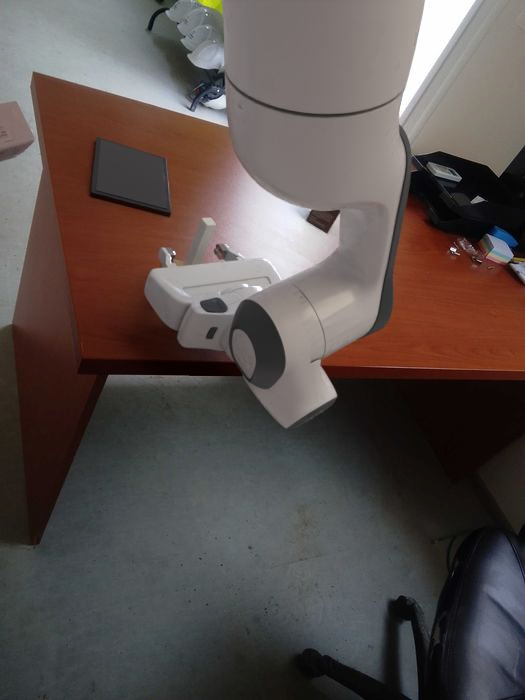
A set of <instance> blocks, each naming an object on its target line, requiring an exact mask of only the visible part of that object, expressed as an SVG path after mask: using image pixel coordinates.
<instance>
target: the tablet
mask: <svg viewBox="0 0 525 700" xmlns="http://www.w3.org/2000/svg"><path fill="white" fill-rule="evenodd" d="M92 164H93V166H92V174H91V175H92V177H91V183H90V184H91V186H90V195H89V196H90V197H91V198H94V199H98V200H102V201H106V202H110V203H114V204H116V205H121V206H125V207H129V208H133V209H137V210H140V211H144V212H147V213H151V214H155V215H159V216H164V217H168V218H170V217H171V215H172V206H171V198H170V197H171V196H170V195H171V194H170V185H169V184H170V183H169V174H168V163H167V157H163V156H161V155H157V154H155V153H154V154H153V153H151V152H147V151H144V150H141V149H137V148H135V147H131V146H128V145H126V144H122V143H119V142H115V141H112V140H109V139H106V138H103V137H99V136H96V138H95V147H94V156H93V163H92Z"/></svg>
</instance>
